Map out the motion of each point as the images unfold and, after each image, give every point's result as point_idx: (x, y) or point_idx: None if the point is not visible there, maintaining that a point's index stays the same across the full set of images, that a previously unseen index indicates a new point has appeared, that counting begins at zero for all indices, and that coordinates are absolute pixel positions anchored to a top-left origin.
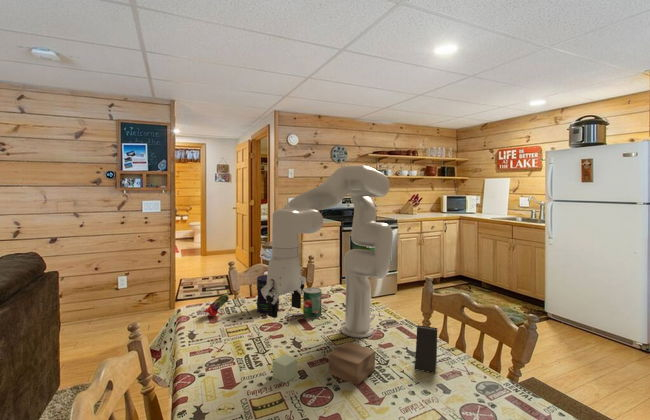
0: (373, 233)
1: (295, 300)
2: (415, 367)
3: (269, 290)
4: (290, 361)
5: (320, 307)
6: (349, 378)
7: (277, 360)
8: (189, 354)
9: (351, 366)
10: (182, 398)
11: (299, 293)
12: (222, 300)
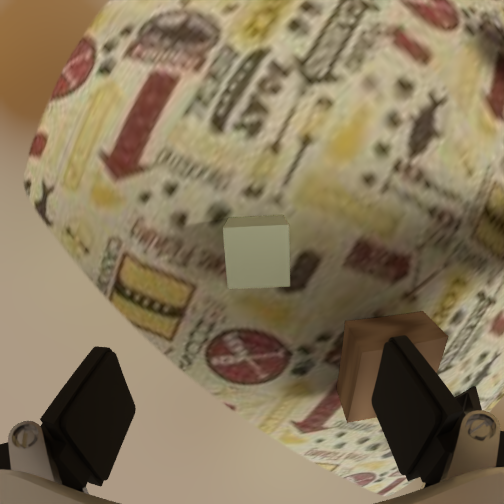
0: None
1: (400, 415)
2: None
3: (14, 492)
4: (261, 280)
5: None
6: (341, 378)
7: (234, 241)
8: None
9: (347, 402)
10: (39, 139)
11: (421, 487)
12: None
